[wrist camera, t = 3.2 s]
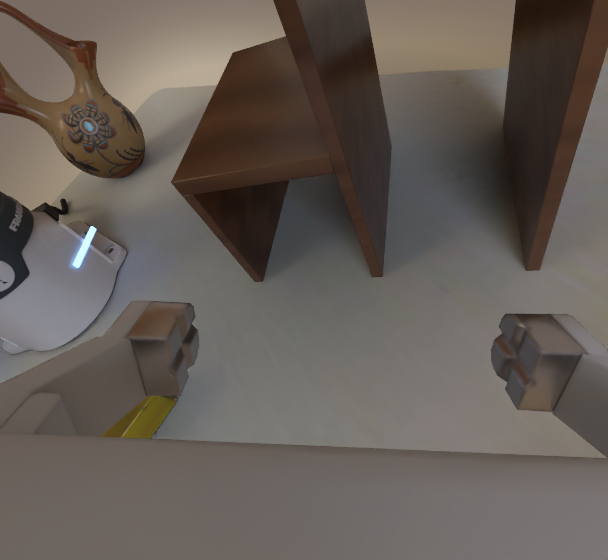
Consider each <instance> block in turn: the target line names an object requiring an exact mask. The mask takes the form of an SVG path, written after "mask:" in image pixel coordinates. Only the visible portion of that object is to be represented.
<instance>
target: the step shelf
mask: <svg viewBox="0 0 608 560" xmlns="http://www.w3.org/2000/svg"><path fill="white" fill-rule="evenodd" d="M274 3H275V6H276V9H277V12H278V15H279V17H280V20H281V23H282V26H283V29H284V31H285V34H286V36H285V37H282V38H279V39H276V40H273V41H269V42H266V43H263V44H260V45H256V46H253V47H250V48H247V49H243V50H240V51H237V52H234V53H232V56H231V58H230V60H229V62H228V64H227V67H226V68H225V70H224V73H223V75H222V77H221V79H220V81H219V83H218V85H217V87H216V89H215V91H214V93H213V95H212V98H211V100H210V102H209V104H208V106H207V108H206V110H205V112H204V114H203V117H202V119H201V121H200V123H199V125H198V127H197V129H196V131H195V133H194V135H193V138H192V140H191V142H190V144H189V146H188V148H187V150H186V152H185V154H184V156H183V159H182V161H181V163H180V165H179V167H178V169H177V171H176V173H175V175H174V177H173V180H172V182H171V183H172V184H173V185H174V187H175V188H176V189H177V190H178V191H179V193H180V194H181V195H182V196H183V197H184V198H185V200H186V201H187V202H188V203H189V204H190V205H191V207H192V208H193V209H194V210H195V211H196V213H197V214H198V215H199V216H200V217H201V219H202V220H203V221H204V222H205V223H206V224H207V226H208V227H209V228H210V229H211V230H212V232H213V233H214V234H215V235H216V236H217V237H218V239H219V240H220V241H221V242H222V243H223V245H224V246H225V247H226V248H227V249H228V251H229V252H230V253H231V254H232V255H233V256H234V258H235V259H236V260H237V261H238V262H239V264H240V265H241V266H242V267H243V268H244V269H245V271H246V272H247V273H248V274H249V275H250V277H251V278H252V279H253V280H254V281H255V282H262V281H263V279H264V275H265V271H266V267H267V263H268V259H269V256H270V252H271V248H272V244H273V240H274V236H275V232H276V228H277V224H278V221H279V217H280V213H281V209H282V205H283V201H284V197H285V193H286V189H287V185H288V182H289V180H292V179H298V178H305V177H312V176H318V175H325V174H331V173H334V172H335V174H336V177H337V180H338V183H339V185H340V188H341V191H342V194H343V197H344V199H345V202H346V205H347V208H348V211H349V213H350V216H351V219H352V222H353V225H354V227H355V230H356V233H357V236H358V239H359V241H360V244H361V247H362V250H363V253H364V255H365V258H366V261H367V264H368V267H369V269H370V272H371V275H372V277H382V276H383V265H384V250H385V235H386V221H387V206H388V191H389V176H390V162H391V147H392V146H391V141H390V135H389V130H388V124H387V119H386V114H385V108H384V103H383V97H382V92H381V86H380V81H379V75H378V70H377V65H376V59H375V54H374V48H373V43H372V37H371V32H370V27H369V21H368V16H367V10H366V5H365V0H274ZM607 47H608V0H516V4H515V14H514V24H513V34H512V43H511V52H510V63H509V72H508V81H507V91H506V101H505V110H504V120H503V133H504V139H505V145H506V151H507V158H508V164H509V170H510V176H511V182H512V189H513V195H514V201H515V207H516V213H517V220H518V226H519V232H520V238H521V245H522V251H523V257H524V263H525V269H526V271H532V270H540V267H541V264H542V260H543V257H544V254H545V251H546V247H547V244H548V241H549V238H550V234H551V231H552V228H553V224H554V221H555V218H556V215H557V211H558V208H559V205H560V202H561V198H562V195H563V192H564V188H565V185H566V182H567V179H568V175H569V172H570V169H571V165H572V162H573V159H574V156H575V152H576V149H577V146H578V143H579V139H580V136H581V133H582V129H583V126H584V123H585V120H586V116H587V113H588V110H589V107H590V103H591V100H592V97H593V93H594V90H595V87H596V84H597V80H598V77H599V74H600V71H601V67H602V64H603V60H604V57H605V54H606V51H607Z"/></svg>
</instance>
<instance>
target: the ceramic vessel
mask: <svg viewBox="0 0 608 560" xmlns="http://www.w3.org/2000/svg"><path fill="white" fill-rule="evenodd" d="M0 12H3V13H5V14H8V15H9V16H11V17H13V18H14V19H16V20H17V21H19V22H20V23H22V24H23V25H25V26H26V27H27V28H29V29H30V30H31V31H33V32H34V33H35V34H37V35H38V36H39V37H40V38H42V39H43V40H44V41H45V42H46V43H48V44H49V45H50V46H51V47H52V48H53V49H54V50H55V51H56V52H57V53H58V54H59V55H60V56H61V57H62V58H63V59H64V60H65V61H66V63H67V64H68V65H69V67H70V68H71V70H72V71H73V73H74V76H75V89H74V93H73V95H72V96H71V97H70V98H68V99H67V100H65V101H63V102H59V103H50V102H44V101H41V100H38V99H35V98H34V97H32V96H30V95H29V94H28V93H27V92H25V91H24V90H23V89H22V88H21V87H20V86H19V85H18V84H17V83H16V82H15V81H14V79H13V78H12V77H11V76H10V74H9V73H8V72H7V70H6V69H5V68H4V66H3V65H2V64H1V62H0V113H7V114H12V115H17V116H21V117H24V118H27V119H29V120H31V121H33V122H35V123H37V124H38V125H40V126H41V127H42V128H44V129H45V130H46V131H47V132H48V133H49V134H50V136H51V137H52V138H53V140H54V142H55V144H56V145H57V147H58V149H59V150H60V152H61V153H62V154H63V155H64V156H65V157H66V159H67V160H68V161H70V162H71V163H72V164H73V165H74V166H76V167H77V168H79V169H80V170H82V171H84V172H86V173H88V174H91V175H93V176H97V177H101V178H121V177H124V176H127V175H128V174H130V173H132V172H133V171H134V170H136V169H137V168H138V167H139V165H140V164H141V162H142V160H143V157H144V152H145V139H144V135H143V132H142V129H141V127H140V125H139V123H138V121H137V119H136V118H135V117H134V115H133V114H132V113H131V112H130V111H129V110H128V109H127V108H126V107H125V106H124V105H123V104H122V103H120V102H119V101H118V100H116V99H114V98H113V97H112V96H111V95H110V94H109V93H108V92H107V91H106V90H105V88H104V87H103V85H102V84H101V82H100V80H99V77H98V74H97V69H96V51H97V43H96V42H93V41H74V40H71V39H69V38H66V37H64V36H61V35H59V34H57V33H55V32H53V31H51V30H49V29H47V28H45V27H44V26H42V25H40V24H39V23H37V22H35V21H33V20H32V19H31V18H29V17H27V16H26V15H25V14H23V13H22V12H20V11H18V10H17V9H15V8H14V7H12V6H10V5H8V4H6V3H4V2H1V1H0Z"/></svg>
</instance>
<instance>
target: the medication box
mask: <svg viewBox="0 0 608 560" xmlns="http://www.w3.org/2000/svg"><path fill="white" fill-rule="evenodd" d="M177 399H178V398H175V397H174V396H146V398H145V399H144V400H143V401H142V402H141V403H140V404H138V405H137V406H136V407H135V408H134V409H132V410H131V411H130V412H129V413H128V414H126V415H125V416H124V417H123V418H122V419H120V420H119V421H118V422H117V423H116V424H115V425H113V426H112V427H111V428H110V429H109V430H107V431H106V432H105V433H104V434H103V435H101V436H100V437H119V438H143V439H151V438H152V436H153V435H154V433H155V432H156V431H157V429H158V428H159V426H160V425H161V424H162V422H163V421H164V419H165V418H166V416H167V415H168V414H169V412H170V411H171V409H172V408H173V406H174V405H175V404H176V402H177Z"/></svg>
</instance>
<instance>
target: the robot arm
mask: <svg viewBox="0 0 608 560" xmlns="http://www.w3.org/2000/svg"><path fill="white" fill-rule="evenodd" d="M60 201H61V206H62V210H60V209H58V208H56V207H53V206H50V205H48V204H47V203H43V204H42V205H40V206H39V207H37V208H35V209H34V210H32V211H30V210H29V209H28V208H26V207H25V206H23V205H21V204H20V203H19V202H18V201H17V200H15V199H13V198H12V197H10V196H7V195H5V194H4V193H2V192H0V338H1V339H3V350H4V351H6V352H8V353H10V354H17V353H20V352H23V351H26V350H35V351H48V350H52V349H55V348H58V347H60V346H62V345H64V344H66V343H67V342H69V341H71V340H72V339H74V338H75V337H76V336H78V335H79V334H80V333H81V332H83V331H84V330H85V329H86V328H87V327H88V326H89V325H90V324H91V323H92V322H93V321H94V319H95V318H96V317H97V316H98V315H99V313H100V312H101V310H102V309H103V307H104V306H105V304H106V303H107V301H108V299H109V297H110V295H111V293H112V290H113V287H114V284H115V279H116V275H117V272H118V269H119V267H120V266H121V264H122V262H123V260H124V259H125V256H126V253H127V252H126V250H125V249H124V248H122V247H121V246H119V245H118V244H116V243H115V242H113V241H111V240H110V239H108V238H107V237H105V236H103V235H102V234H100V233H99V232H97V231H96V229H95V228H94V227H93V226H91V227H89V226H88V225H86V224H84V223H83V222H81V221H75V222H72V223H70V224H68V225H65V224H63V223H58V222H57V221H59V214H60V215H65V214H66V213H67V211H68V209H67V204H66V200H65V199H61V200H60ZM194 318H195V312H194V307H193V305H192V304H191V303H181V302H162V301H132V302H131V303H130V304H129V305H128V306H127V308H126V309H125V310H124V311H123V312H122V314H121V315H120V316H119V317H118V319H117V320H116V321H115V322H114V323H113V325H112V326H111V327H110V328H109V330H108V331H107V332H106V333H105V335H104V336H103V337H96V338H94V339H92V340H89V341H87V342H85V343H83V344H81V345H79V346H77V347H75V348H73V349H71V350H69V351H67V352H65V353H63V354H61V355H59V356H57V357H55V358H53V359H50V360H48V361H46V362H44V363H42V364H40V365H38V366H36V367H34V368H32V369H30V370H28V371H26V372H24V373H22V374H20V375H18V376H16V377H14V378H12V379H9V380H7V381H5V382H3V383H1V384H0V560H608V350H607V349H606V348H605V347H603V346H602V345H601V344H600V343H599V342H598V341H597V340H596V339H595V338H594V337H593V336H592V335H591V334H590V333H589V332H588V331H587V330H586V329H585V328H584V327H583V326H582V325H581V324H580V323H579V322H578V321H577V320H576V319H575V318H574V317H573V316H570V315H568V314H505V315H504V316H503V318H502V319H501V322H500V325H499V328H500V330H501V332H502V334H501V335H500V336H499V337H497V338H496V339H495V340H494V342H493V346H492V349H491V361H492V365H493V368H494V370H495V372H496V374H497V376H499V377H500V378H502V379H503V380H505V381H506V382H507V385H506V387H505V390H506V391H507V393H508V395H509V397H510V398H511V400H512V402H513V403H514V405H515V407H516V409H517V410H532V411H547V412H553V414H554V415H555V416H556V417H558V418H559V419H560V420H561V421H563V422H564V423H565V424H566V425H568V426H569V427H570V428H571V429H573V430H574V431H575V432H576V433H577V434H579V435H580V436H581V437H582V438H584V439H585V440H586V441H587V442H589V443H590V444H591V445H592V446H594V447H595V448H596V449H597V450H598V451H600V452H601V453H602V454H603V455H605V456H606V457H607V458H586V457H561V456H539V455H516V454H494V453H472V452H450V451H427V450H403V449H379V448H355V447H332V446H308V445H284V444H260V443H237V442H213V441H190V440H166V439H143V438H119V437H100V436H101V435H103V434H104V433H105V432H106V431H107V430H109V429H110V428H111V427H112V426H113V425H115V424H116V423H117V422H118V421H119V420H120V419H122V418H123V417H124V416H125V415H126V414H128V413H129V412H130V411H131V410H132V409H134V408H135V407H136V406H137V405H138V404H140V403H141V402H142V401H143V400H144V399H145V398H146V396H180V395H181V393H182V391H183V389H184V386H185V384H186V382H187V379H188V377H189V376H188V371H187V369H188V368H189V367H191V366H192V365H194V363H195V360H196V358H197V354H198V348H199V335H198V330H197V329H196V328H195V327H194V326H193V325H192V323H193V320H194Z"/></svg>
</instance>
